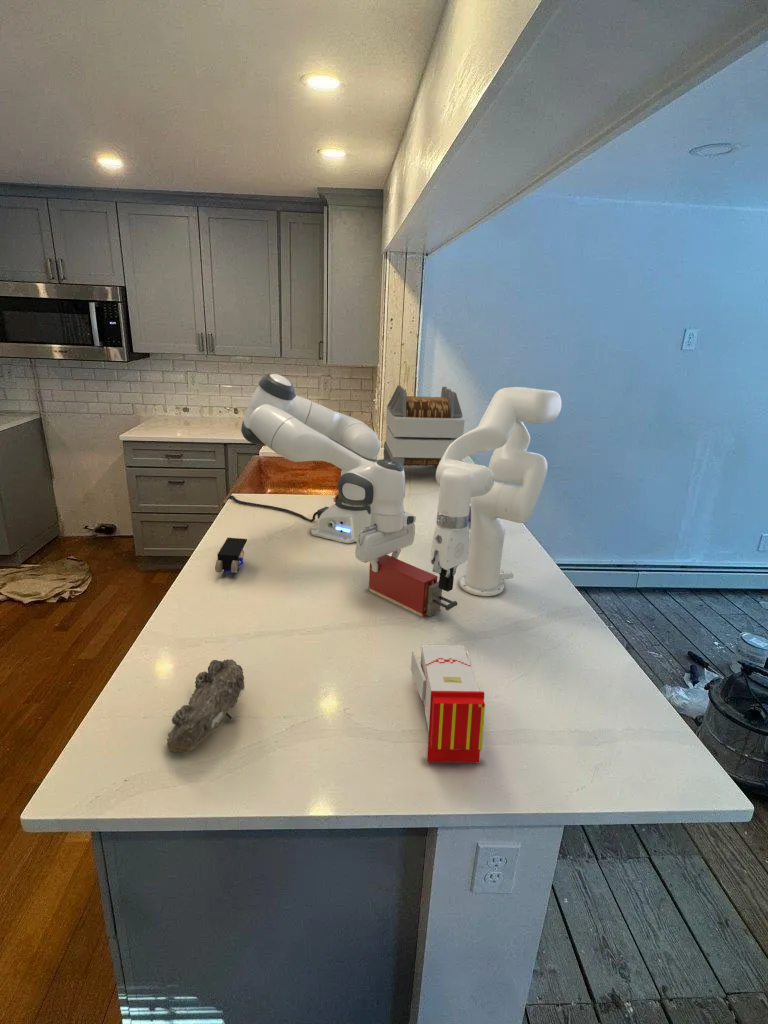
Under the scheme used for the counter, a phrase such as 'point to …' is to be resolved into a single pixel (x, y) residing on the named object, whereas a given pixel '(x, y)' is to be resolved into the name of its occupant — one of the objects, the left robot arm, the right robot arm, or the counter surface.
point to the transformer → (421, 427)
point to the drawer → (435, 599)
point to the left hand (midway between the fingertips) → (384, 567)
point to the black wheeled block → (230, 556)
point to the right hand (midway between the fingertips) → (445, 588)
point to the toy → (450, 703)
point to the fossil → (206, 705)
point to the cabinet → (400, 583)
